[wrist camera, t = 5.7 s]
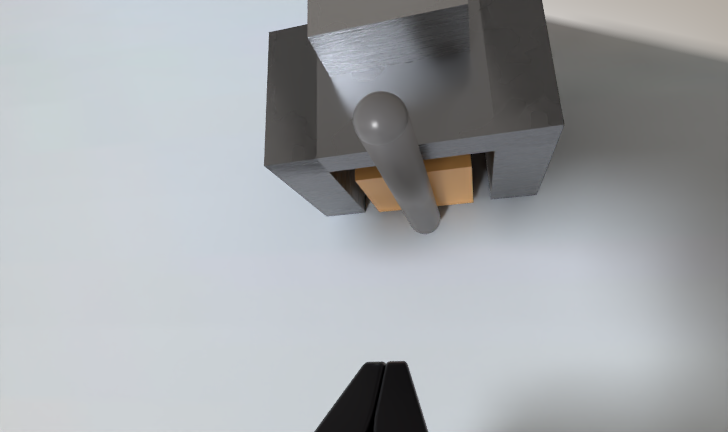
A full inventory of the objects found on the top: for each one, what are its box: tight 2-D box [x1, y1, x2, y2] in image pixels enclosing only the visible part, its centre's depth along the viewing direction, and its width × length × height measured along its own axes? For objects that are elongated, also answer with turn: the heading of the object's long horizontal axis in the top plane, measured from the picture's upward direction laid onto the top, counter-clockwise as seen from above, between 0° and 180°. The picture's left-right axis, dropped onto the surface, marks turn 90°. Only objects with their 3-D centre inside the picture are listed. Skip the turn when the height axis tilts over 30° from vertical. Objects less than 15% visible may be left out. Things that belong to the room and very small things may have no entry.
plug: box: [353, 91, 473, 234], centre depth 16 cm, size 6×4×11 cm
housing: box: [264, 0, 564, 216], centre depth 17 cm, size 6×10×9 cm, turn 92°
